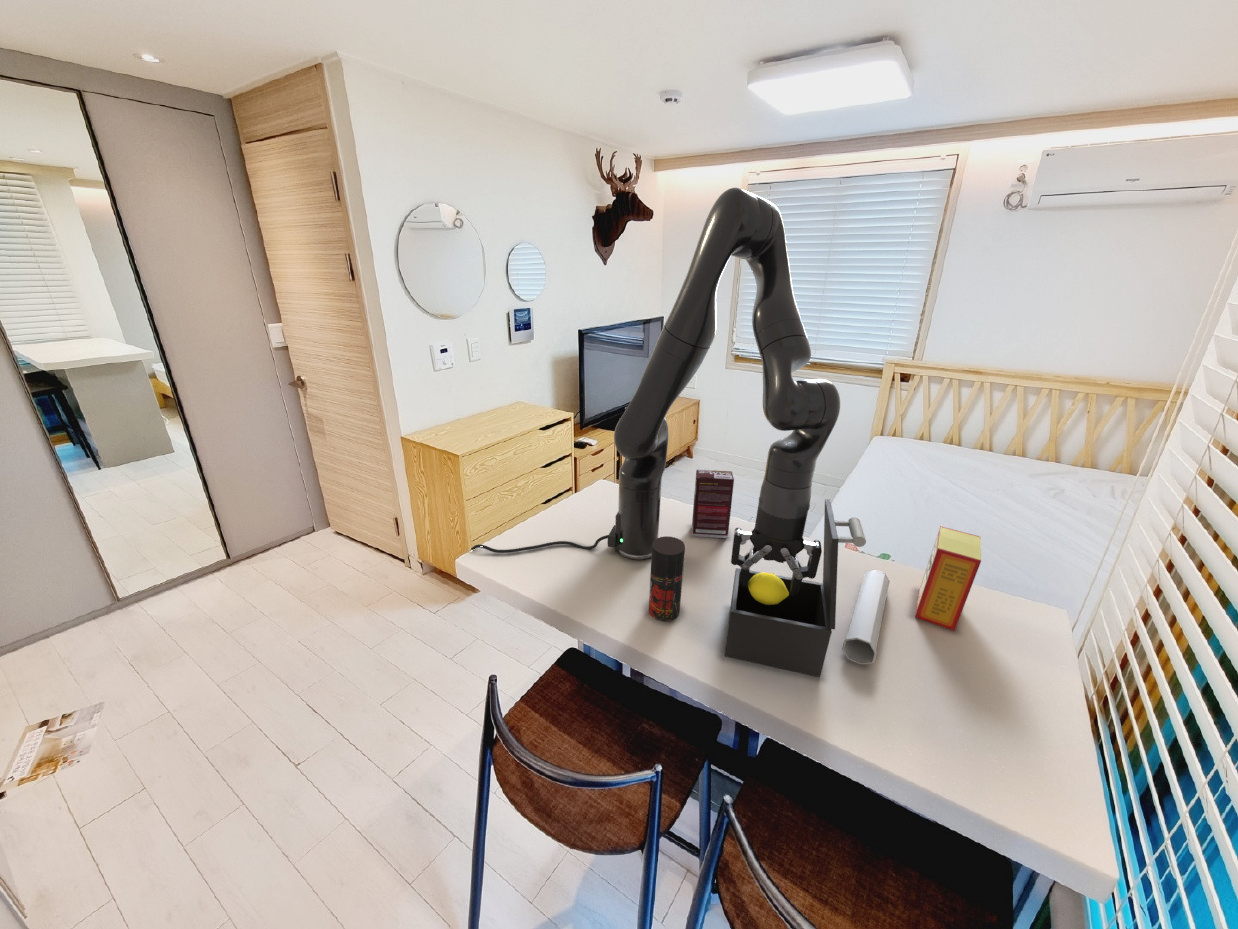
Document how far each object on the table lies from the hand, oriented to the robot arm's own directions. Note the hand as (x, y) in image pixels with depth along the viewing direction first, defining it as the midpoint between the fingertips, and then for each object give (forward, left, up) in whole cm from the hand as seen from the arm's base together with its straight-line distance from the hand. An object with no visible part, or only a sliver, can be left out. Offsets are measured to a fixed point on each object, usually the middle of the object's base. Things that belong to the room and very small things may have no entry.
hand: (768, 588), depth 86 cm
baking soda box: (+33, +18, -11) cm, 39 cm away
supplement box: (-13, +33, -11) cm, 37 cm away
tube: (+19, +11, -11) cm, 25 cm away
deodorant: (-18, +2, -11) cm, 21 cm away
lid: (+8, 0, +7) cm, 11 cm away
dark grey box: (+2, 0, -11) cm, 11 cm away
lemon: (0, 0, -3) cm, 3 cm away
